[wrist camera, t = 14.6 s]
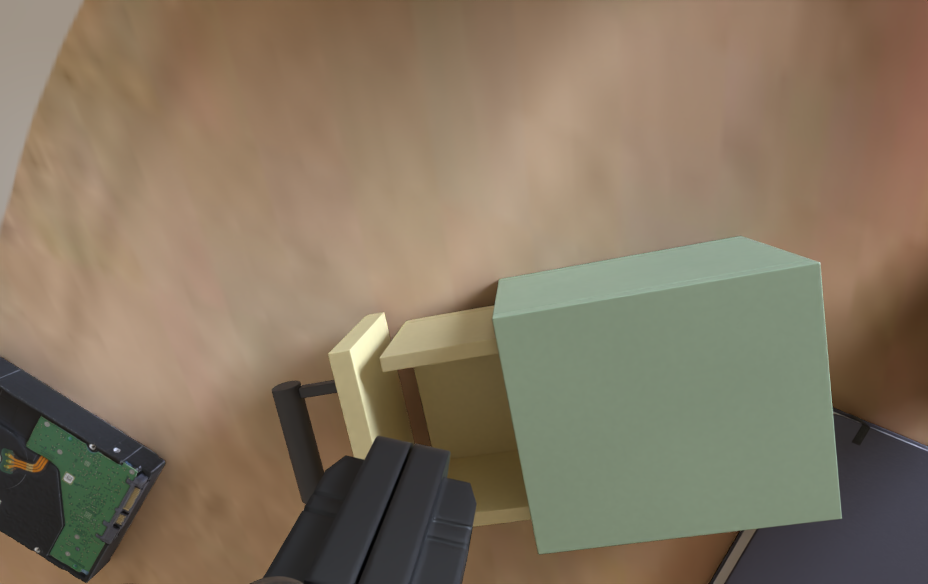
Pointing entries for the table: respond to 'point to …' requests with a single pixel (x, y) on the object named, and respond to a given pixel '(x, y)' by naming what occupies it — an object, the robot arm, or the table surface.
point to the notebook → (849, 521)
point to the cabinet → (670, 394)
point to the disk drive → (66, 476)
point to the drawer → (443, 400)
